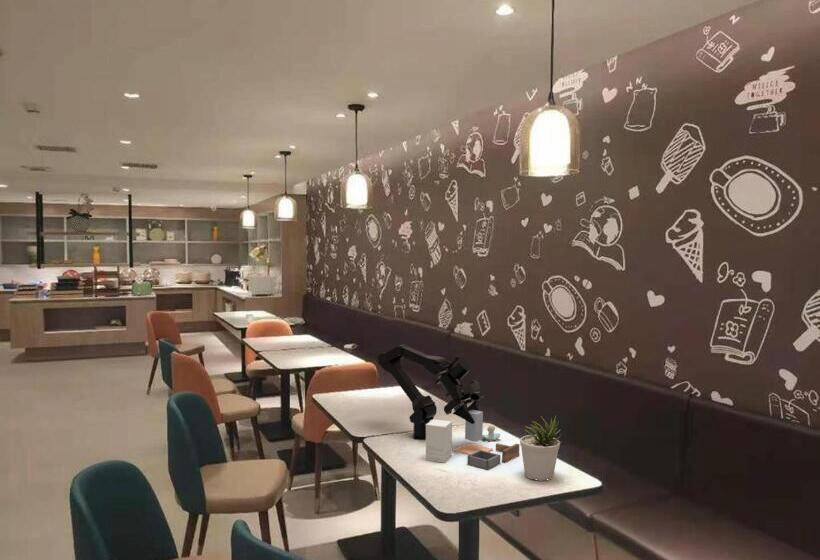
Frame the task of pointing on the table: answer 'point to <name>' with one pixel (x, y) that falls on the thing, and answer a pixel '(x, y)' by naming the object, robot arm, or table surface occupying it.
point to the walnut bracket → (508, 451)
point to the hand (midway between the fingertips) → (477, 422)
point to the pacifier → (491, 434)
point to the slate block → (474, 426)
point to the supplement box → (439, 440)
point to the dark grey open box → (483, 459)
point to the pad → (472, 449)
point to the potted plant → (540, 452)
